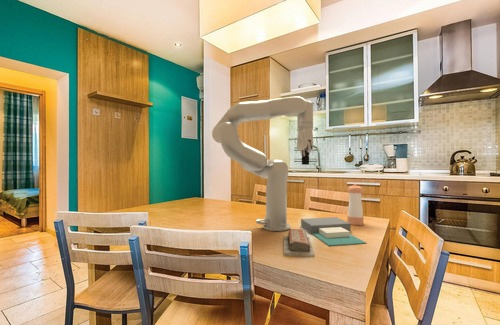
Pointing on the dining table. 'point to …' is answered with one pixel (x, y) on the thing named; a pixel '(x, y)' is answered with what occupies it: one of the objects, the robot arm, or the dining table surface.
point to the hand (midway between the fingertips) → (305, 164)
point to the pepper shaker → (355, 205)
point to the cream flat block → (334, 232)
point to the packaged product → (297, 244)
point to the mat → (339, 240)
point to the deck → (324, 224)
